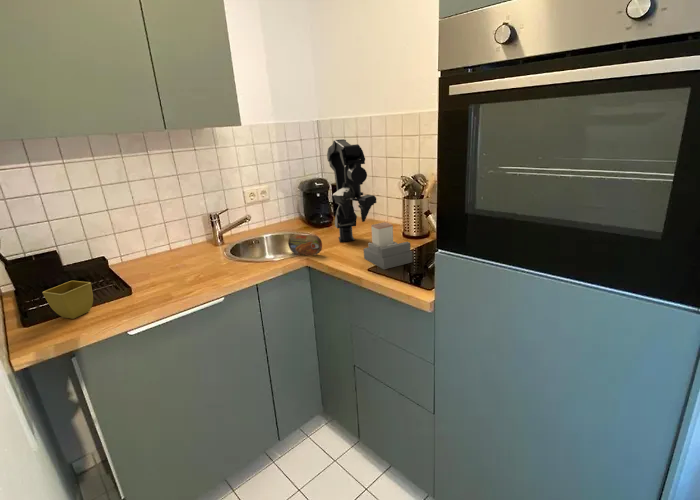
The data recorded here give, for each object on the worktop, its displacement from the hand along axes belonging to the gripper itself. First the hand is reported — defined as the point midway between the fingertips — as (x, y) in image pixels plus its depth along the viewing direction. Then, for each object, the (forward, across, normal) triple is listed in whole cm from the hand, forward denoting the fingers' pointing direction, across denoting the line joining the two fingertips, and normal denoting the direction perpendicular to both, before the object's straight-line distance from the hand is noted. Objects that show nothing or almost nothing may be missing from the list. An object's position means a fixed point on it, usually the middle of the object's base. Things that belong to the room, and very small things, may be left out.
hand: (354, 219), depth 146 cm
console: (+13, +17, -1) cm, 21 cm away
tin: (+14, -15, -14) cm, 24 cm away
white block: (+8, +14, 0) cm, 16 cm away
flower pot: (+13, -28, -90) cm, 95 cm away
